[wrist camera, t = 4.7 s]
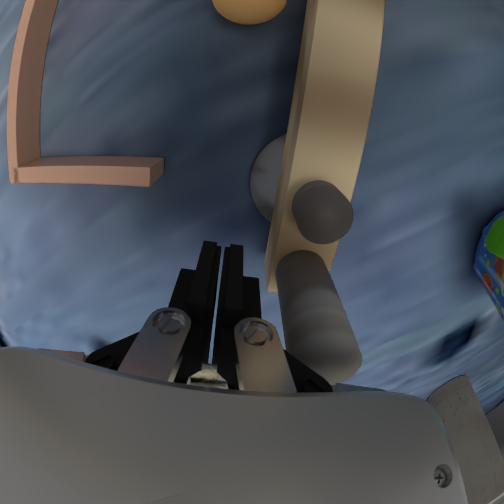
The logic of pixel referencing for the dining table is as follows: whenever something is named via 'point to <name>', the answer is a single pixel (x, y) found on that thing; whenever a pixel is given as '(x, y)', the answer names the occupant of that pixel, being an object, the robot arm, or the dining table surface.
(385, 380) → the dining table surface
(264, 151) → the pivot base
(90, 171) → the open frame
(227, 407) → the robot arm
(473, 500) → the thermos bottle
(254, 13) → the ball
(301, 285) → the lever
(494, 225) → the snack cup
